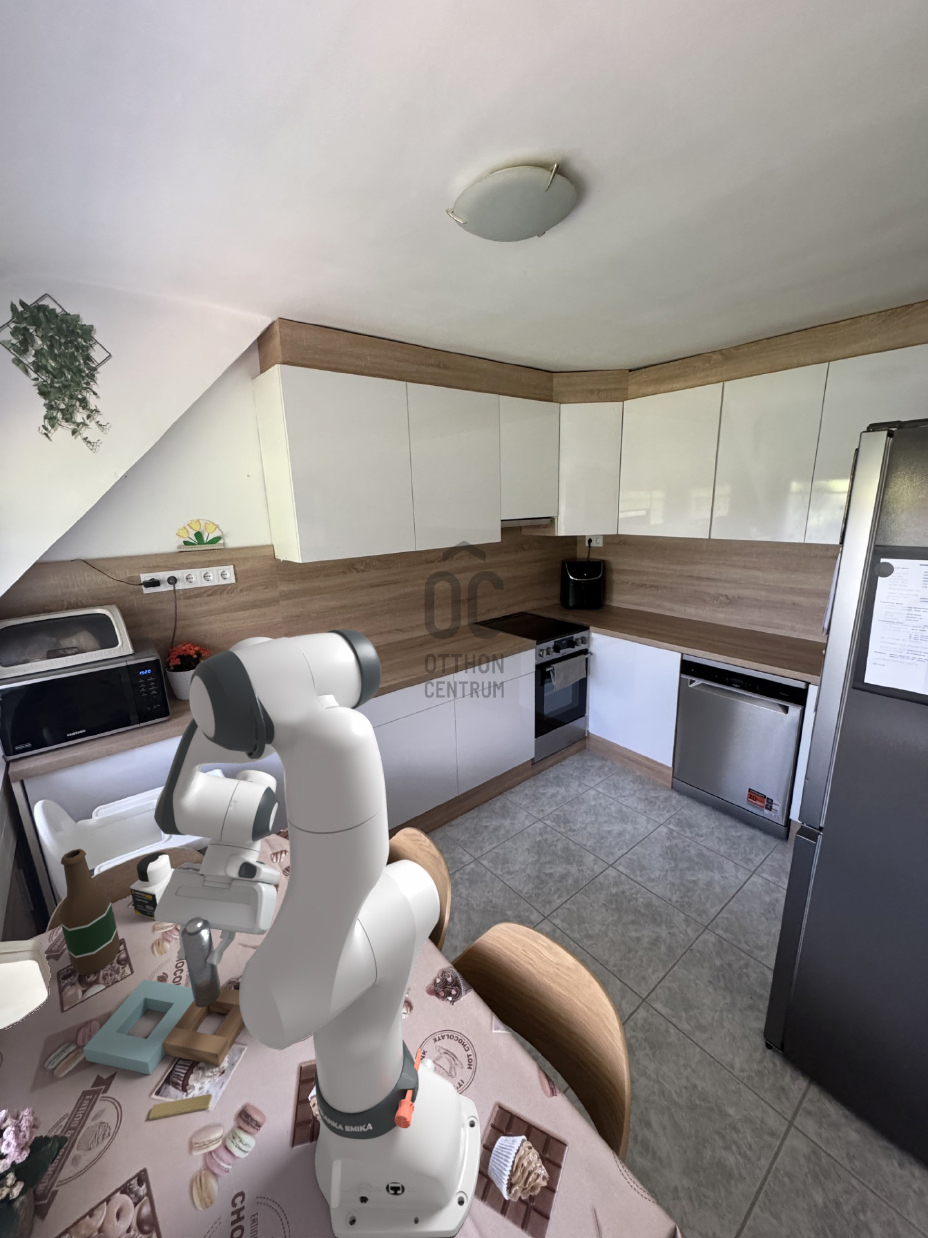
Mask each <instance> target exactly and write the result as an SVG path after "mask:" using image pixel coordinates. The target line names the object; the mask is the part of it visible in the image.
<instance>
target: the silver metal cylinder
mask: <svg viewBox="0 0 928 1238" xmlns="http://www.w3.org/2000/svg"><path fill="white" fill-rule="evenodd" d="M211 930H212V929H210V925H209V922H208V921H207V920H204V919H202V918H201V917H195V918H193V919H191V920H190V921H188V922H187V924H186V927H185V928H184V929H183V931H182V933H181V937H182V942H183V947H184V952H185V957H186V960H185V962H186V967H187V972H188V973H187V974H188V977H189V978H188V979H189V983H190V988H192V993H193V998H194V1003H195V1005H196V1006H197V1007H206V1006H209V1005H211V1004H212V1003H214V1002H215V1001H216V1000H217V999H218V997H219V996H220V994H221V987H222V986H221V981H220V974H219V971H218V964H217V965H214V964H208V963H207V962H206V961H207V958H208V954H209V951H210V950H215V948H214V943H213V937H212V931H211Z"/></svg>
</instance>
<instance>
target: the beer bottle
mask: <svg viewBox="0 0 928 1238" xmlns="http://www.w3.org/2000/svg"><path fill="white" fill-rule="evenodd" d="M86 855H87V853H86V852H85V850H84V849H83V848H76V849H72V850H70V851H68V852H67V853H64V855H63V856H62V857H61V858H60V864H61V865H63V869H64V871H63V872H64V877H65V878H64V879H65V882H66V897H65V899H64V901H63V903H62V904H61V908H60V913H59V920H60V926H61V929H62V930H61V931H62V934H63V937H64V941H65V946H66V948H67V949H66V950H67V952H68V956H69V957H68V958H69V960H70V964H71V967H72V969H73V970H74V971H75V972H77V973H78V974H79V975H81V976H82V977H83V976H88V975H91V974H95V973H99V972H101V971H102V970H103V969H105V968H106V967H107V966H108V965H110V964H111V963H114V961H115V960H116V958H117V956H118V953H119V950H120V948H121V943H120V936H119V931H118V926H117V923H116V919H115V914H114V910H113V905H112V901H111V899H110V896H109V893H107V891H106V890H105V889H104V888H103V887H101V886H99V885H98V884H95V881H94V879H93V878H92V875H91V871H90V869H89V865H88V862H87V859H86Z"/></svg>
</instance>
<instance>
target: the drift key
mask: <svg viewBox="0 0 928 1238" xmlns="http://www.w3.org/2000/svg"><path fill="white" fill-rule="evenodd" d="M212 1097H213V1095H212V1093H209V1094H203V1095H198V1096H192V1097H188V1098H182V1099H176V1100H171V1101H167V1102H162V1103H155V1104H153V1106H152V1109H151V1110H150V1113H149V1115H148V1118H149V1121H151V1120H158V1119H161V1118H167V1117H171V1116H176V1115H182V1114H183V1115H184V1114H187V1113H192V1112H197V1111H202V1110H207V1109H209V1108H210V1105H211V1104H210V1103H211V1101H212Z"/></svg>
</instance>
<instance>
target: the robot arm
mask: <svg viewBox="0 0 928 1238" xmlns="http://www.w3.org/2000/svg"><path fill="white" fill-rule="evenodd" d="M190 676H191V677H190V685H189V686H190V688H189V696H188V697H189V698H188V699H189V708H190V712H191V714H192V719H191V720H190V722H189V724H188V725H187V726H186V728H185V730H184V732H183V734H182V736H181V738H180V740H179V744H178V746H177V749H176V752H175V754H174V757H173V759H172V763H171V766H170V770H169V772H168V776H167V778H166V781H165V785H164V787H163V788H162V789H161V792H160V793H159V794H158V797H157V800H156V804H155V808H154V815H153V817H154V820H155V823H156V825H157V826H158V828H159V830H160V831H161V832H162V833H163V834H164V835H170V836H171V835H173V836H191V837H198V838H204V839H210V841H209V842H208V845H207V847H206V851H205V853H204V856H203V859H202V863H192V862H184V863H182V864H180V865H178V866H176V868H174V869H175V870H174V871H173V873H172V875H171V878H170V881H169V883H168V884H167V886H166V888H165V890H164V892H163V894H162V896H161V898H160V900H159V902H158V905H157V907H156V909H155V912H154V916H155V919H154V920H155V922H160V923H167V924H175V925H180V927H179V931H178V939H179V950H178V953H177V956H176V959H178V960H184V961H186V957H185V952H184V947H183V942H182V937H181V933H182V931H183V929H184V928H185V927H186V924H187V922H188V921H190V920H191V919H193V918H195V917H201V918H202V919H204V920H207V921H208V922H209V925H210V930H218V931H221V932H220V936H219V939H221V940H220V942H219V944H218V945H217V946H216V948H214V950H210V951H209V954H208V958H207V961H206V962H207V963H208V964H214V965H217V966H218V965H219V964H221V962H222V958H223V955H224V952H225V951H226V950H227V949H228V948H229V946H230V945H231V944H232V943H233V941H234V940H235V938H236V934H237V933H241V934H246V935H255V936H257V935H258V936H263V935H264V934H266V935H265V936H264V938H263V939H262V941H261V943H260V944H259V946H258V947H257V948H256V949H255V951H254V952H253V954H252V955H251V956H250V957H249V958H248V960H247V961H246V962H245V965H244V968H243V970H242V974H241V976H240V981H239V989H238V990H239V1005H240V1012H241V1016H242V1019H243V1021H244V1024H245V1025H244V1027H245V1028H246V1029H247V1031H248V1032H249V1034H250V1035H251V1036H252V1037H253V1038H254V1040H256V1042H259V1044H261V1045H263V1046H265V1047H267V1048H268V1049H273V1050H278V1051H284V1050H286V1049H287V1048H289V1047H291V1046H293V1045H294V1044H297V1043H299V1042H300V1041H303V1040H304V1039H305V1038H307V1037H309V1036H311V1035H312V1041H313V1049H314V1056H315V1065H316V1068H315V1076H314V1086H315V1097H316V1107H317V1110H318V1114H319V1116H320V1126H319V1135H318V1137H317V1142H316V1144H315V1152H314V1153H315V1155H314V1167H315V1168H314V1169H315V1175H316V1180H317V1182H318V1183H317V1184H318V1186H319V1189H320V1191H321V1193H322V1194H323V1196H324V1198H325V1200H326V1202H327V1204H328V1207H329V1214H330V1222H331V1224H330V1225H331V1229H332V1233H333V1235H334V1234H335V1235H334V1237H335V1236H336V1237H338V1238H450V1237H451V1238H452V1237H453V1236H454V1237H455V1235H457V1234H458V1231H459V1230H460V1229H461V1227H462V1226H463V1224H464V1222H465V1220H466V1218H467V1217H468V1214H469V1212H470V1209H471V1206H472V1203H473V1199H474V1195H475V1191H476V1187H477V1182H478V1176H479V1171H480V1161H481V1151H482V1150H481V1148H482V1147H481V1144H482V1143H481V1142H482V1135H481V1132H482V1131H481V1124H480V1118H479V1113H478V1111H477V1107H476V1104H475V1103H474V1100H472V1099H470V1098H469V1097H467V1096H465V1095H462V1094H460V1093H458V1091H457V1089H456V1087H455V1085H453V1083H452V1082H450V1081H449V1080H447V1079H446V1078H444V1077H443V1076H441V1075H439V1074H438V1073H437V1072H435V1070H436V1069H435V1068H436V1066H435V1064H434V1062H433V1061H432V1059H429V1058H427V1057H425V1058H424V1057H423V1058H422V1059H421V1054H422V1053H421V1048H418V1050H417V1054H416V1057H415V1058H414V1056H413V1055H412V1053H411V1052H410V1049H409V1048H408V1046H407V1044H406V1043H405V1041H404V1039H403V1009H404V1004H405V1000H406V997H407V993H408V989H409V986H410V982H411V979H412V976H413V974H414V970H415V968H416V964H417V962H418V959H419V957H420V955H421V953H422V951H423V948H424V945H425V944H426V941H427V940H428V938H429V936H430V935H431V933H432V931H433V930H434V928H435V927H436V925H437V923H438V921H439V920H440V919H439V918H440V910H441V906H440V897H439V892H438V888H437V886H436V883H435V881H434V880H433V878H432V876H431V875H430V873H429V872H428V871H427V870H426V869H424V868H423V866H421V864H418V863H417V862H414V861H412V860H409V859H401V860H397V861H395V862H392V863H389V864H388V863H387V862H388V859H389V856H390V855H389V853H390V835H389V824H388V823H389V822H388V810H387V809H388V807H387V794H386V793H387V791H386V783H385V782H386V781H385V774H384V767H383V762H382V756H381V753H380V749H379V744H378V741H377V737H376V733H375V731H374V727H373V725H372V723H371V722H370V720H369V719H368V718H367V717H366V716H365V715H364V714H363V713H362V712H360V711H358V710H357V709H358V708H359V707H361V706H363V705H364V704H366V703H367V702H369V701H370V700H372V699H373V698H374V697H375V696H376V695H377V693H378V691H379V689H380V685H381V679H382V664H381V660H380V657H379V654H378V652H377V649H376V648H375V646H374V645H373V643H372V642H371V641H370V640H369V638H367V636H365V635H364V634H363V633H362V632H360V631H357V630H354V629H330V630H328V631H327V632H319V633H311V634H304V635H303V634H302V635H296V636H291V637H286V636H282V637H278V638H271V637H265V636H255V637H250V638H249V637H248V638H246V639H243V640H240V641H239V642H236V643H235V644H234V645H233V646H231V648H229V649H228V650H225V651H222V652H220V653H217V654H214V655H212V656H210V657H208V658H207V659H204V660H202V661H201V662H199V663H198V664H197V665H196V667H195V668H194V670H193V672H192V674H191V675H190ZM275 753H276V754H277V756H278V758H279V760H280V762H281V767H282V772H283V781H284V783H283V784H284V802H285V803H284V804H285V805H284V806H285V813H286V823H287V831H288V832H287V835H288V844H289V845H288V846H289V875H288V881H287V886H286V889H285V892H284V895H283V899H282V901H281V904H280V906H279V909H278V912H277V914H276V916H275V918H274V915H275V911H276V910H275V909H276V905H277V899H278V895H277V894H278V892H277V889H276V887H275V885H276V884H277V883H278V882H279V879H280V876H281V873H280V871H279V870H277V869H275V868H273V866H271V865H268V864H267V863H265V862H263V861H261V860H260V859H259V857H260V853H261V849H262V848H261V847H262V846H261V845H262V839H264V838H265V837H266V836H269V835H270V834H272V831H273V827H274V824H275V823H274V822H275V820H276V815H277V813H278V810H279V807H280V804H281V802H280V800H279V798H278V796H277V795H276V788H277V780H276V778H275V777H274V776H273V775H271V774H270V773H268V772H266V771H262V770H258V769H245V770H242V771H239V772H238V773H237V774H236V776H235V778H229V777H224V776H218V775H214V774H208V773H205V772H203V771H201V768H202V766H204V765H211V764H212V765H213V764H232V765H233V764H236V765H238V764H239V765H240V764H241V765H242V764H250V763H255V762H257V761H262V760H264V759H267V757H270V756H271V755H273V754H275ZM273 919H274V920H273ZM471 1125H474V1126H473V1127H471ZM461 1201H462V1202H463V1204H462V1205H460V1204H459V1202H461ZM353 1220H354V1221H355V1223H353V1224H352V1225H351V1224H350V1223H351V1222H352V1221H353ZM336 1237H335V1238H336Z"/></svg>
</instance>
